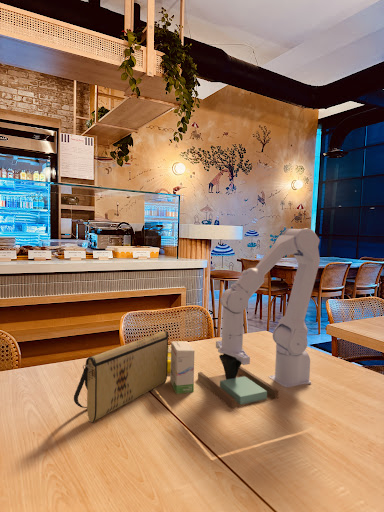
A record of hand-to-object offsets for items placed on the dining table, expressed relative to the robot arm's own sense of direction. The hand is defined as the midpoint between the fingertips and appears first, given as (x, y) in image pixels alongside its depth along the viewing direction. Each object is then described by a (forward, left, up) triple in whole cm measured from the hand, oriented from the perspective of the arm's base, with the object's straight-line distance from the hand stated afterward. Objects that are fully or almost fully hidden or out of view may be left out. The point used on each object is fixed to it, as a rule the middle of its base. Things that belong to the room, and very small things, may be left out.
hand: (230, 381), depth 99 cm
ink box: (+13, -4, -2) cm, 14 cm away
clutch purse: (+29, -4, -2) cm, 29 cm away
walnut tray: (0, +4, -1) cm, 4 cm away
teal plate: (0, +6, -1) cm, 6 cm away
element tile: (+13, -23, -2) cm, 26 cm away
